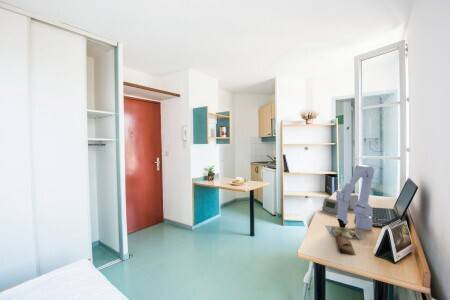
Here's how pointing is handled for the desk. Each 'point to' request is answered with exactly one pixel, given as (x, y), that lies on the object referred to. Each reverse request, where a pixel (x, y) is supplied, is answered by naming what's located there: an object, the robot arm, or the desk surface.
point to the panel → (344, 232)
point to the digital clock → (330, 206)
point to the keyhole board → (341, 231)
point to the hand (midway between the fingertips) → (342, 230)
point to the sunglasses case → (344, 246)
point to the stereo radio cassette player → (351, 200)
